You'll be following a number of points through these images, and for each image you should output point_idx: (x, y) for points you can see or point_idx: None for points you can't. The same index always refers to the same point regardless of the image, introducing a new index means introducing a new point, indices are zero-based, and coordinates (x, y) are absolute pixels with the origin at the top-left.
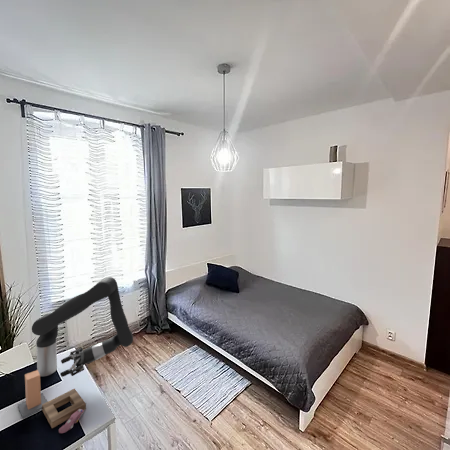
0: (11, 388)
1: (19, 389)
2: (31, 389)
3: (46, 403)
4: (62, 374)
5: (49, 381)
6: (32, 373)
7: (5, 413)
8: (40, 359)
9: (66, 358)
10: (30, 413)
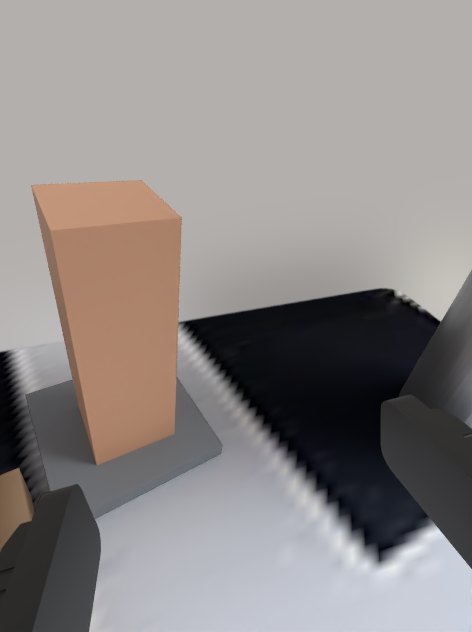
0: (303, 317)
1: (292, 341)
2: (59, 305)
3: (6, 501)
4: (12, 540)
5: (357, 462)
6: (128, 200)
7: None
8: (457, 302)
9: (461, 468)
10: (34, 426)
